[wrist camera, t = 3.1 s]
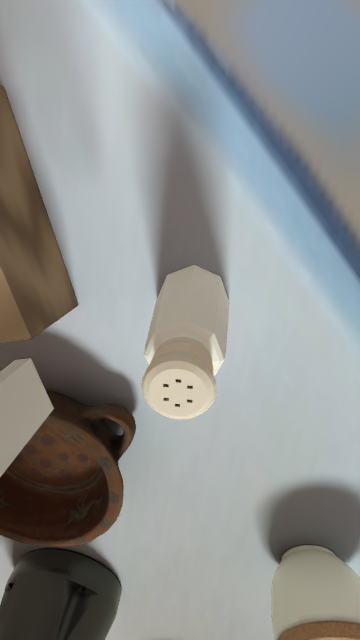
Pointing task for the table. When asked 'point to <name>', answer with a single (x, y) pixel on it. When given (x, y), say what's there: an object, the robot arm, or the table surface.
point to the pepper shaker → (186, 343)
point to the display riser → (26, 245)
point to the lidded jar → (315, 596)
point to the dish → (66, 476)
